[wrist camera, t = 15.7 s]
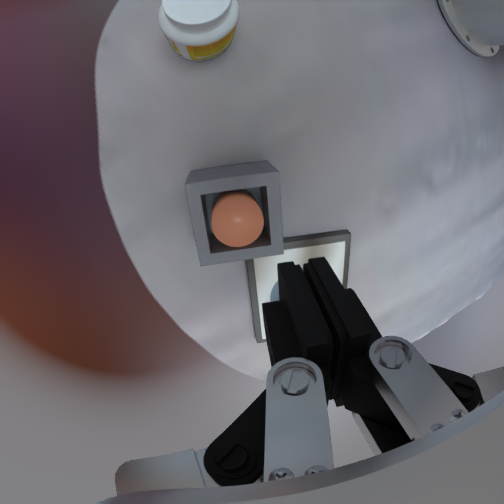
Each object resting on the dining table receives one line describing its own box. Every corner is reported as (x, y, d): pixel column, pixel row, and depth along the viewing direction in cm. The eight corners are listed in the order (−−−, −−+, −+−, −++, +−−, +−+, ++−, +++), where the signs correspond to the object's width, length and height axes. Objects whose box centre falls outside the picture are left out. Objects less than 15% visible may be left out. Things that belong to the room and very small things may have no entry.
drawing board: (347, 229, 30) (352, 234, 28) (339, 322, 36) (343, 328, 35) (244, 243, 29) (245, 249, 28) (255, 337, 35) (257, 344, 34)
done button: (256, 184, 24) (261, 194, 21) (260, 228, 26) (265, 243, 23) (208, 191, 24) (207, 202, 21) (215, 234, 25) (215, 250, 23)
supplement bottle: (160, 50, 19) (131, 19, 11) (190, 3, 18) (179, -45, 9) (215, 71, 21) (214, 47, 13) (244, 24, 19) (260, -19, 11)
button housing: (267, 160, 25) (278, 171, 21) (272, 230, 29) (283, 254, 24) (190, 171, 25) (184, 184, 21) (202, 240, 28) (200, 266, 24)
